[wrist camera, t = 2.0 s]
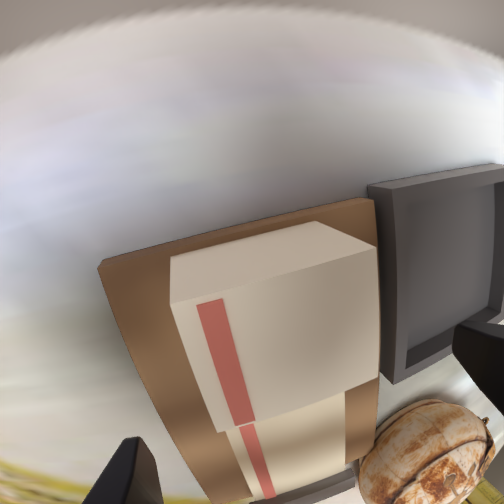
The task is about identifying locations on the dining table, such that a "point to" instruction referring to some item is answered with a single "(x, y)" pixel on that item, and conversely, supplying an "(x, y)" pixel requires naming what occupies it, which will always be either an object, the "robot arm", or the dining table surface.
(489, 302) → the tray
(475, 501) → the sauce bottle
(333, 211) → the board
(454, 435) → the trinket box
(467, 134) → the dining table surface
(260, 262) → the stub
